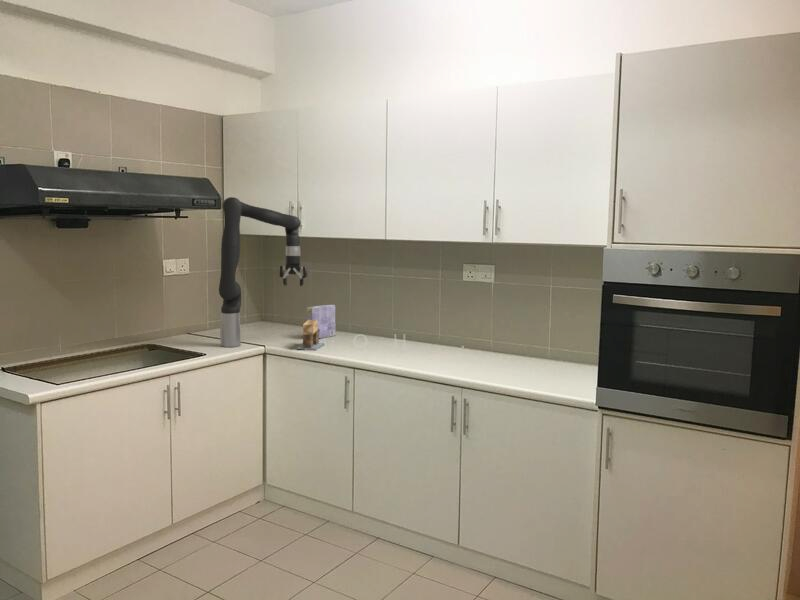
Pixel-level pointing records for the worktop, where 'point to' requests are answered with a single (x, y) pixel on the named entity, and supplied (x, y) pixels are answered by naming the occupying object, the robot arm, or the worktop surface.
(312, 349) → the blueprint plate
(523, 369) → the worktop surface
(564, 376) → the worktop surface
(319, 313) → the cake pan box
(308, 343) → the posts
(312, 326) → the oak crossbeam
